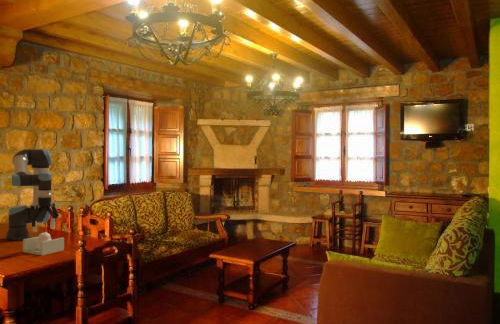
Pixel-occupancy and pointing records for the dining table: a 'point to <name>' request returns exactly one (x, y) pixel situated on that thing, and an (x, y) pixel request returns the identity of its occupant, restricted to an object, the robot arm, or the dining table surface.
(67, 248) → the dining table surface
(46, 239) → the figurine
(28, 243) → the beige open frame
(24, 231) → the robot arm
